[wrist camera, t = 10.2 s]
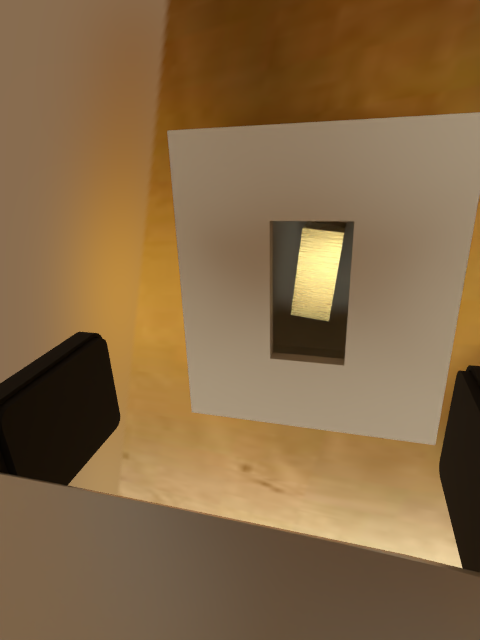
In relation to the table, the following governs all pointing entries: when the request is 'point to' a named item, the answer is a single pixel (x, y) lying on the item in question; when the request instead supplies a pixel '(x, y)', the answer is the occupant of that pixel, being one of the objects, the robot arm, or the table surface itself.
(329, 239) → the wooden block
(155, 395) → the table surface
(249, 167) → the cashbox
